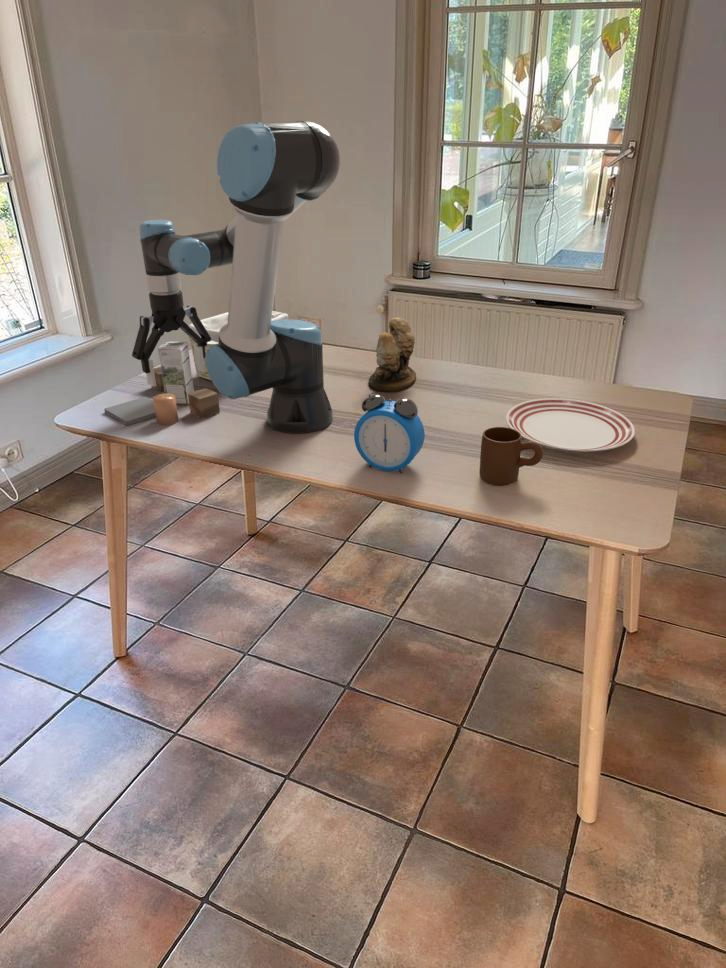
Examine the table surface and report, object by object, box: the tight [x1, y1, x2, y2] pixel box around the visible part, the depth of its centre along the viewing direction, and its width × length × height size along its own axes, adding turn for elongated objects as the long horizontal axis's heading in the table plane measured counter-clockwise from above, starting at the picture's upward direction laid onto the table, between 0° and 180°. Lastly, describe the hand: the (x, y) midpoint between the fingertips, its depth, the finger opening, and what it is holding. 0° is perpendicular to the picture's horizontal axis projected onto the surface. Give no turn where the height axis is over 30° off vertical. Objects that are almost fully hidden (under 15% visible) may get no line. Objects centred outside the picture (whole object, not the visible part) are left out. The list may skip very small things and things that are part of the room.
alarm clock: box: [353, 393, 426, 474], centre depth 144 cm, size 13×6×15 cm, turn 67°
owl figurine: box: [368, 316, 417, 393], centre depth 187 cm, size 18×12×17 cm, turn 162°
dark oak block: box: [151, 366, 165, 393], centre depth 188 cm, size 5×5×5 cm
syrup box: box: [157, 341, 195, 405], centre depth 178 cm, size 6×6×14 cm
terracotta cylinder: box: [152, 392, 180, 427], centre depth 168 cm, size 5×5×6 cm
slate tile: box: [104, 396, 156, 426], centre depth 174 cm, size 11×11×1 cm
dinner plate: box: [505, 397, 636, 453], centre depth 160 cm, size 27×27×3 cm
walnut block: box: [188, 387, 221, 419], centre depth 173 cm, size 5×5×5 cm
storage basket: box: [187, 310, 289, 381], centre depth 196 cm, size 24×16×15 cm
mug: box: [479, 426, 544, 487], centre depth 139 cm, size 12×8×9 cm, turn 60°
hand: (177, 377), depth 178 cm, fingers open, 13 cm apart
